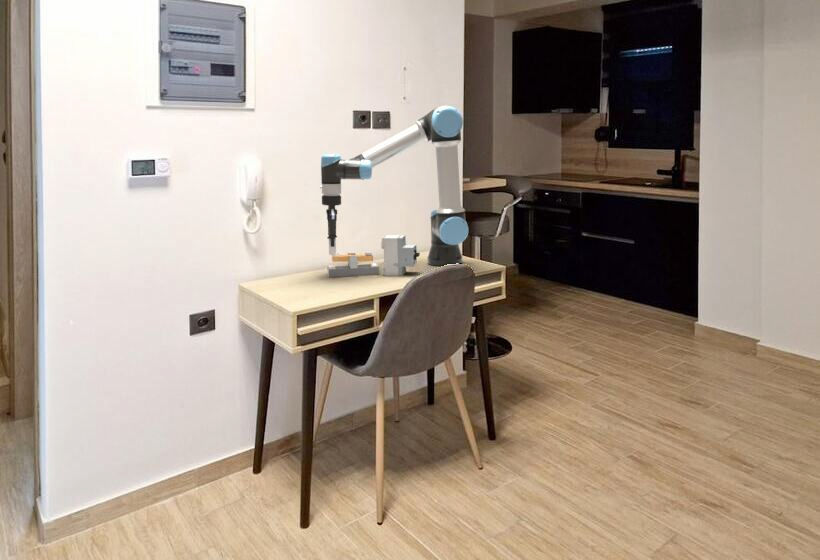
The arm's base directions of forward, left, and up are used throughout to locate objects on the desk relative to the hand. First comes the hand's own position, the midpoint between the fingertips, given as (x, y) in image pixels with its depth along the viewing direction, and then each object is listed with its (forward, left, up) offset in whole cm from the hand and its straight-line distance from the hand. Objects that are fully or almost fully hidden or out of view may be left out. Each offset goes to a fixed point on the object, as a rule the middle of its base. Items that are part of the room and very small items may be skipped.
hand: (332, 254), depth 257 cm
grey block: (-8, 0, -9) cm, 12 cm away
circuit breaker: (-27, +5, -9) cm, 29 cm away
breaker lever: (-8, 0, -2) cm, 8 cm away
